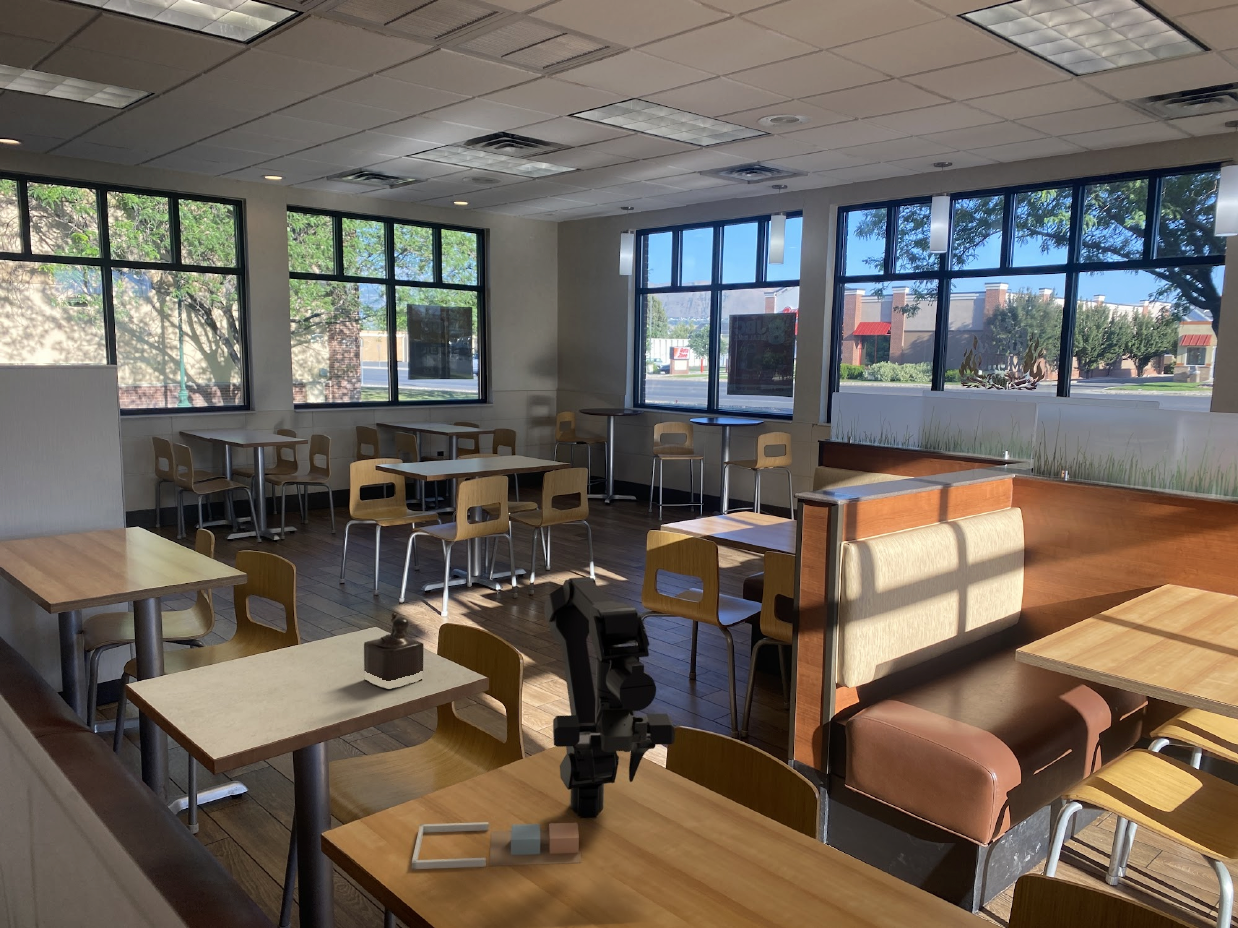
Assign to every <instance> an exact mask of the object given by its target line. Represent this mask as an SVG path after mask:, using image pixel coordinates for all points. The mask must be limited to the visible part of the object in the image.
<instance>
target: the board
mask: <svg viewBox="0 0 1238 928" xmlns="http://www.w3.org/2000/svg"><path fill="white" fill-rule="evenodd" d="M489 845H490V846H489V847H490V848H489V849H490V850H489V859H488V860H489V861H488V862H489V863H488V867H505V866H506V867H507V866H508V867H509V866H510V867H511V866H533V865H534V866H536V865H555V864H556V865H563V864H582V859H581V857H582V855H581V849H580V848H581V847H580V845H579V853H558V854H550V849H549V828H548V829H547V828H546V829H544V828H542V829H540V854H530V855H511V830H491V834H490V844H489Z"/></svg>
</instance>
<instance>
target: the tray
mask: <svg viewBox="0 0 1238 928" xmlns="http://www.w3.org/2000/svg"><path fill="white" fill-rule="evenodd" d="M470 831H473V832H475V831H490V823H489V821H486V822H481V821H480V822H461V823H459V822H457V823H454V822H452V823H428V824H427V823H425V824H424V823H423V824H422V823H421V824H419V828H418V833H417V837H416V841H415V847H414V851H413V856H412V859H411V870H421V869H422V870H424V869H449V868H452V869H454V868H456V869H457V868H480V867H482V868H483V867H486V865H487V857H473V858H472V857H469V858H467V857H466V858H465V857H463V858H444V859H442V858H440V859H438V858H437V859H419V856H420V850H421V846H422V841H423V836H424V833H440V832H441V833H444V832H446V833H449V832H470Z"/></svg>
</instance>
